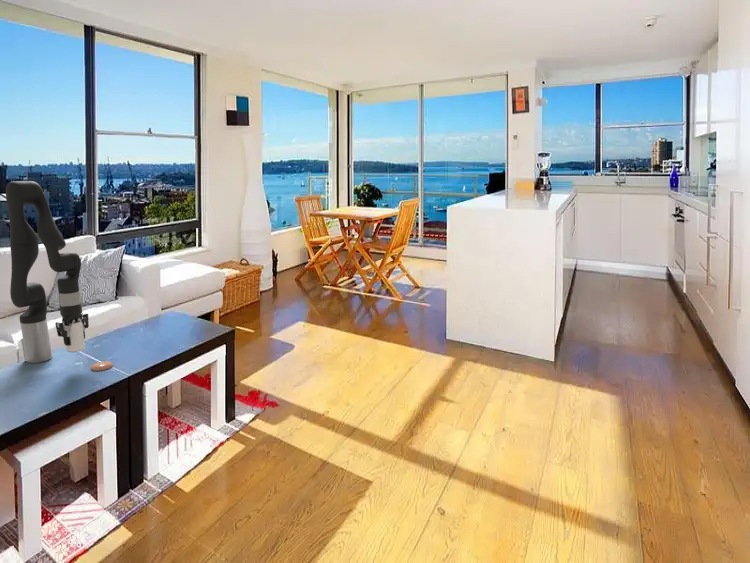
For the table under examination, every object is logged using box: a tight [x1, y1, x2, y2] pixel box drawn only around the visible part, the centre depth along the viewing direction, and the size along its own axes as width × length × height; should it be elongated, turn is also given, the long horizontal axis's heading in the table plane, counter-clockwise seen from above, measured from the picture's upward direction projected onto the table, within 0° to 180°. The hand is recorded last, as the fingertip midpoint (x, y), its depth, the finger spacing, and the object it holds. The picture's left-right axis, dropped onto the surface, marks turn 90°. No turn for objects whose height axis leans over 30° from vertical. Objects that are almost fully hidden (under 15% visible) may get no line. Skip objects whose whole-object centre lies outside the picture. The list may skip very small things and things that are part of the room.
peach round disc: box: [90, 360, 114, 372], centre depth 206 cm, size 8×8×1 cm
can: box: [64, 321, 86, 353], centre depth 202 cm, size 6×6×12 cm
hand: (75, 342), depth 202 cm, fingers closed on can, 6 cm apart
